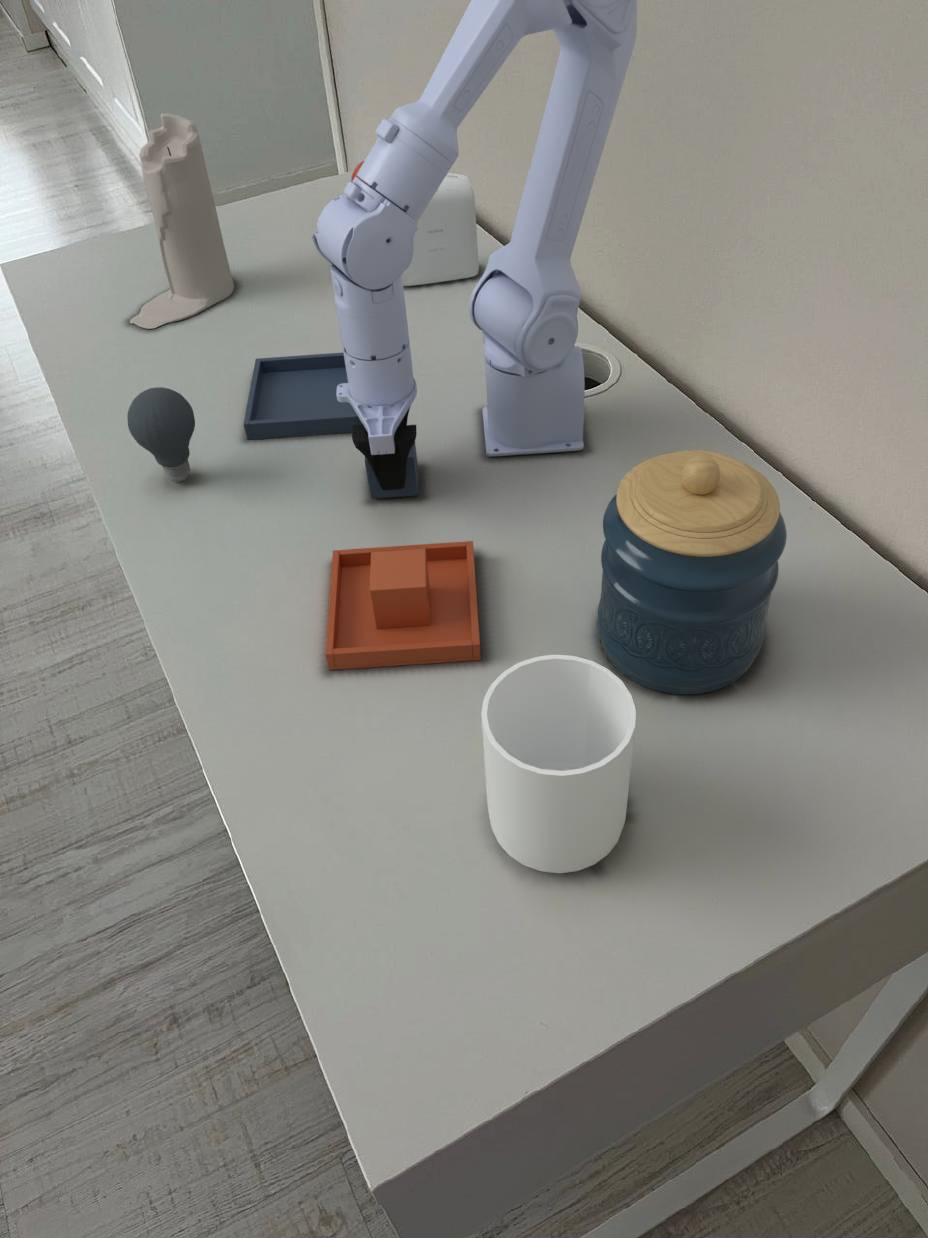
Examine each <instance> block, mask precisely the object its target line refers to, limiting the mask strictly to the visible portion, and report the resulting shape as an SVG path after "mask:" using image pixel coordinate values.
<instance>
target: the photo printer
mask: <svg viewBox="0 0 928 1238" xmlns="http://www.w3.org/2000/svg"><path fill="white" fill-rule="evenodd" d="M475 196H476V195H475V191H474V189H473V186H472V184H471V180H470V179H469V176H468V175H464V174H460V173H453V172H448V173H447V175H446V176H445V178H444V180H443V181H442V183H441V184H440V186H439V188H438V189H437V191H436V192H435V194H434V196H433V197H432V199H431V200H430V202H429V204H428V205H427V207H426V208H425V210H424V212H423V213H422V215H421V217H420V218H419V220H417V219H416V218H414V217H413V216H412V215H410V214H409V213H408V214H409V215H410V216H412V217H413V218H414V219H415V220H417V222H418V224H417V226H416V227H417V228H418V229H417V231H416V232H415V235H414V239H413V242H414V251H413V257H412V261H411V264H410V266H409V267H408V268H407V269H406V270H405V271H404V272H403V274H402V280H403V287H411V286H412V287H413V286H420V285H428V284H435V283H442V282H450V281H455V280H461V279H462V280H463V279H468V278H473V277H475V276H477V275H478V274H479V272H480V264H479V263H480V262H479V247H478V246H479V245H478V231H477V228H478V227H477V214H476V213H477V212H476V197H475ZM406 213H407V212H406Z"/></svg>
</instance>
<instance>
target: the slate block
mask: <svg viewBox="0 0 928 1238" xmlns="http://www.w3.org/2000/svg"><path fill="white" fill-rule="evenodd" d="M416 445H417V444H416V441H415V442H414V444H413V446H412V448H411V450H410V452H409V455H408V459H407V467H406V480H405V485H404V488H403V489H396V490H382V489H381V487H380V485H379V483H378V481H377V479H376V477H375V474H374V472H373V470H372V467H371V465H370V463H369V462H368V460H367V459H366V457H365V456H364V466H365V473H366V477H367V484H368V491H369V496H370V499H384V498H385V499H386V498H399V497H413V496H414V497H415V496H419V465H418V454H417V446H416Z"/></svg>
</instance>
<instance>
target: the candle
mask: <svg viewBox="0 0 928 1238" xmlns="http://www.w3.org/2000/svg"><path fill="white" fill-rule="evenodd" d="M159 116H160V120H161V121H160V122H161V125H162V126H161V127H158V128H157V127H156V128H154V129H153V128H152V129H150V130H149V132H148V142H146V143H145V144H144V145H143V146H142V147H141V148H140V152H139V155H138V157H139V160H140V163H141V164H140V165H141V174H142V179H143V180H142V181H143V186H144V189H145V192H146V196H147V199H148V204H149V207H150V211H151V213H152V216H153V220H154V221H153V222H154V225H155V229H156V234H157V239H158V244H159V250H160V256H161V261H162V265H163V269H164V272H165V276H166V279H167V283H168V287H169V289H168V290H166V291H164V292H162V293H161V294H159V295H157V296H155V297H154V298H153V299H151V300H149V301H148V302H145V303H144V304H143V306H141V308H140V312H139V313H138V314H136V315H135V316H133V317H132V318H130V319H129V323H130V324H134V325H136V326H138V327H140V328H143V329H149V330H151V329H155V328H158V327H161V326H163V325H165V324H167V323H174V322H178V321H182V320H185V319H187V318H190V317H192V316H193V317H194V316H195V315H197V314H199V313H201V312H203V311H205V310H206V309H208V308H211V306H213V305H215V304H217V303H219V302H221V301H224V300H225V299H227V298H228V297H229V296H230V295H232V293H233V291H234V289H235V285H234V280H233V276H232V272H231V268H230V263H229V259H228V255H227V251H226V247H225V243H224V239H223V234H222V230H221V226H220V221H219V216H218V212H217V207H216V203H215V199H214V195H213V191H212V185H211V183H210V178H209V177H210V176H209V173H208V169H207V165H206V161H205V157H204V152H203V146H202V143H201V139H200V135H199V132H198V128H197V127H198V126H197V125H196V123H195V122H194V121H193V120H191V119H189V118H187V117H185V116H183V115H180V114H176V113H169V112H163V113H161V114H160V115H159Z"/></svg>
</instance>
